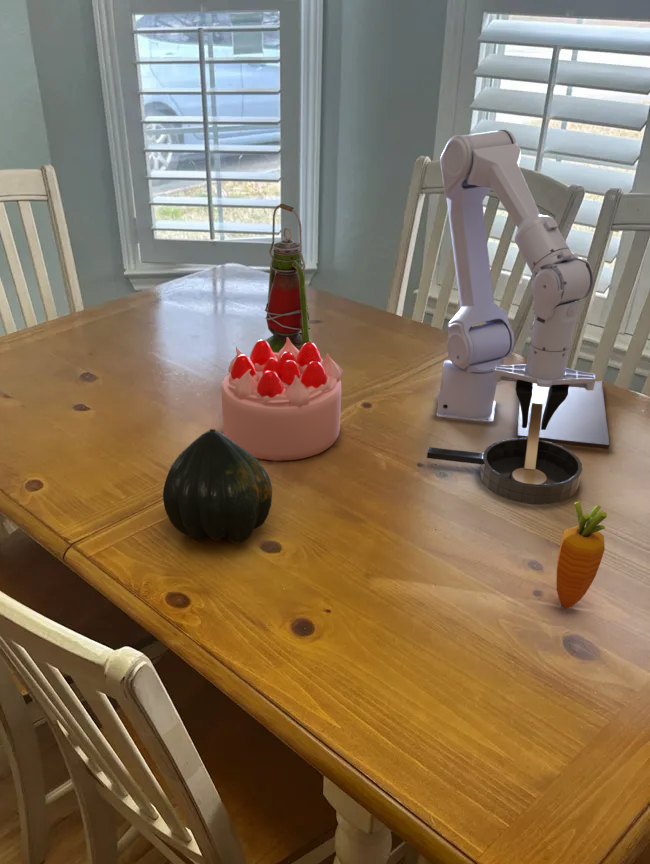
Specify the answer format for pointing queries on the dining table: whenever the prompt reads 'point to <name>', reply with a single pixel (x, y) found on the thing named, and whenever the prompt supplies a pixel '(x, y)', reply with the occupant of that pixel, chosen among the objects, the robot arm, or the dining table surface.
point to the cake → (282, 401)
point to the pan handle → (455, 455)
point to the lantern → (287, 292)
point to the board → (572, 418)
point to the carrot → (579, 556)
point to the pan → (550, 460)
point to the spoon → (531, 451)
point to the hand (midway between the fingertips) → (533, 425)
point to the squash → (217, 490)
